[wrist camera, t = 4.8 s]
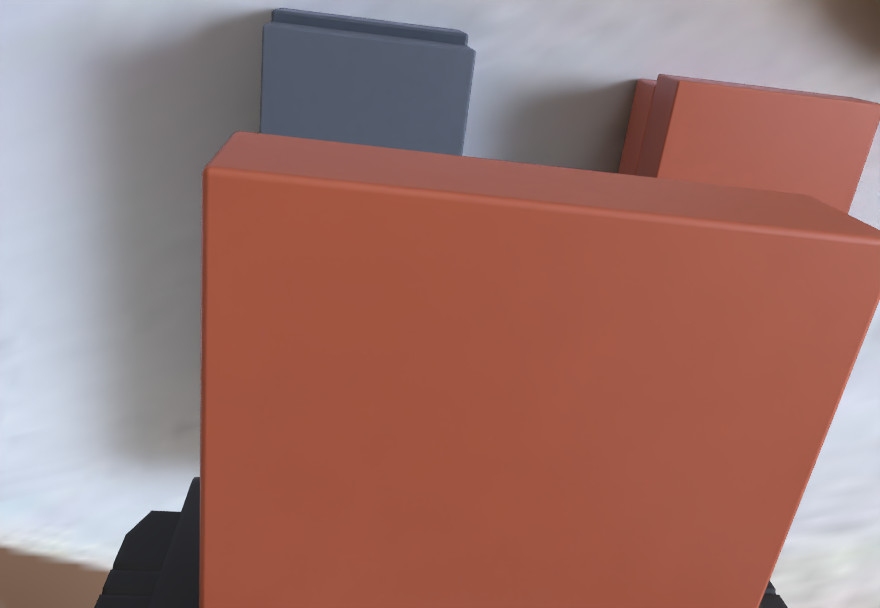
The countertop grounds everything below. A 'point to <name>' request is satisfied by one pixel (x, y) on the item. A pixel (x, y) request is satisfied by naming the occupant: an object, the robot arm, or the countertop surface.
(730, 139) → the orange-red flat block
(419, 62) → the grey rectangular block
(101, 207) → the countertop surface
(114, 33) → the countertop surface
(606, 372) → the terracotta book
